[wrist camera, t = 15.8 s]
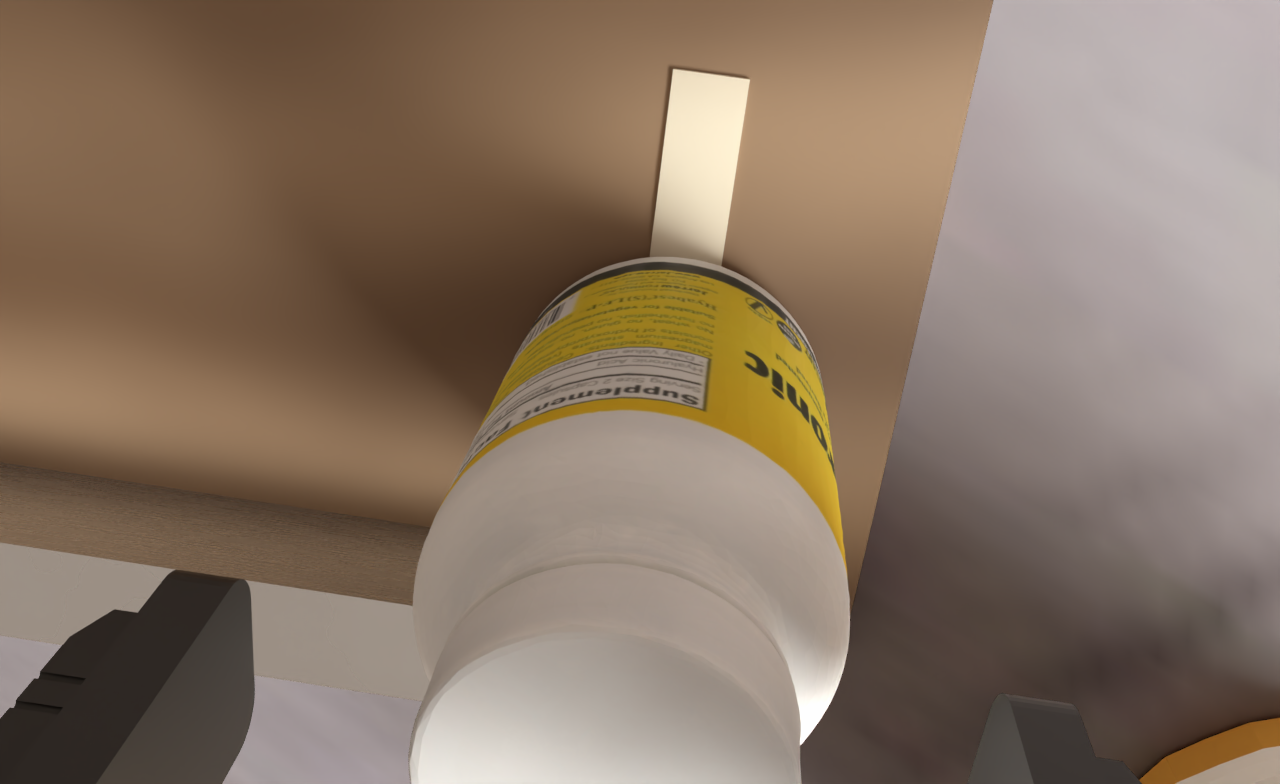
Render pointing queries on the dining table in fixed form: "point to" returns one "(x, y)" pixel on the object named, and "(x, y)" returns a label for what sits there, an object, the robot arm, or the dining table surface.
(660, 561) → the supplement bottle
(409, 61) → the brown flat wooden board
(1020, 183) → the dining table surface
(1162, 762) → the cup
